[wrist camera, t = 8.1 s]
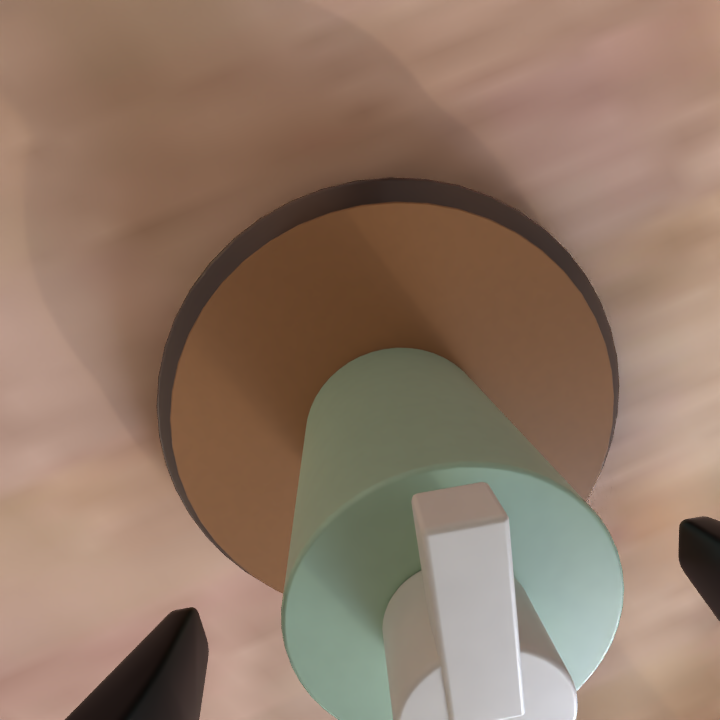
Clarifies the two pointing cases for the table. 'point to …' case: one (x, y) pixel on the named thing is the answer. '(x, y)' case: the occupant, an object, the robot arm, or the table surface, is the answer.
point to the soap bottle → (409, 461)
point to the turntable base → (332, 202)
